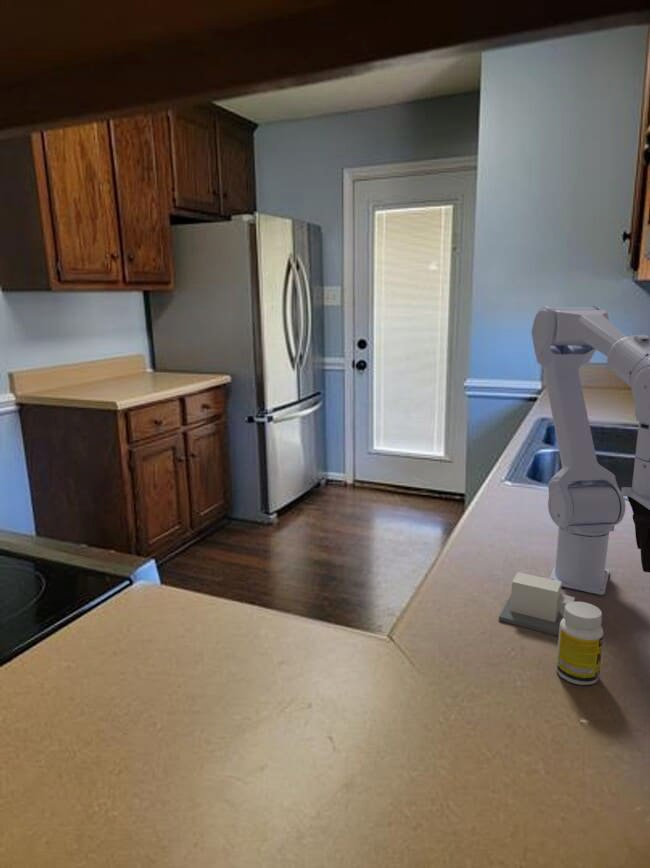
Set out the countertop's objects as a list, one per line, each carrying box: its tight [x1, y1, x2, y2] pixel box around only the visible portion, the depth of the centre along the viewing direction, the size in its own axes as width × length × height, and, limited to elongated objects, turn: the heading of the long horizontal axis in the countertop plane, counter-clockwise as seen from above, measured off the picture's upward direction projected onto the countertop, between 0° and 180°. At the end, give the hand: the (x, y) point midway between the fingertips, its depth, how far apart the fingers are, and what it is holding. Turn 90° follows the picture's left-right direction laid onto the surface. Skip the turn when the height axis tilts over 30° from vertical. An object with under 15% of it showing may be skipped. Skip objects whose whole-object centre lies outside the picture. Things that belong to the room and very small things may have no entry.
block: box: [510, 571, 576, 622], centre depth 81 cm, size 4×8×4 cm, turn 60°
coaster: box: [498, 595, 564, 637], centre depth 82 cm, size 8×8×1 cm
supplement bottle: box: [555, 601, 604, 686], centre depth 68 cm, size 5×5×8 cm
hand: (649, 560), depth 76 cm, fingers open, 7 cm apart
